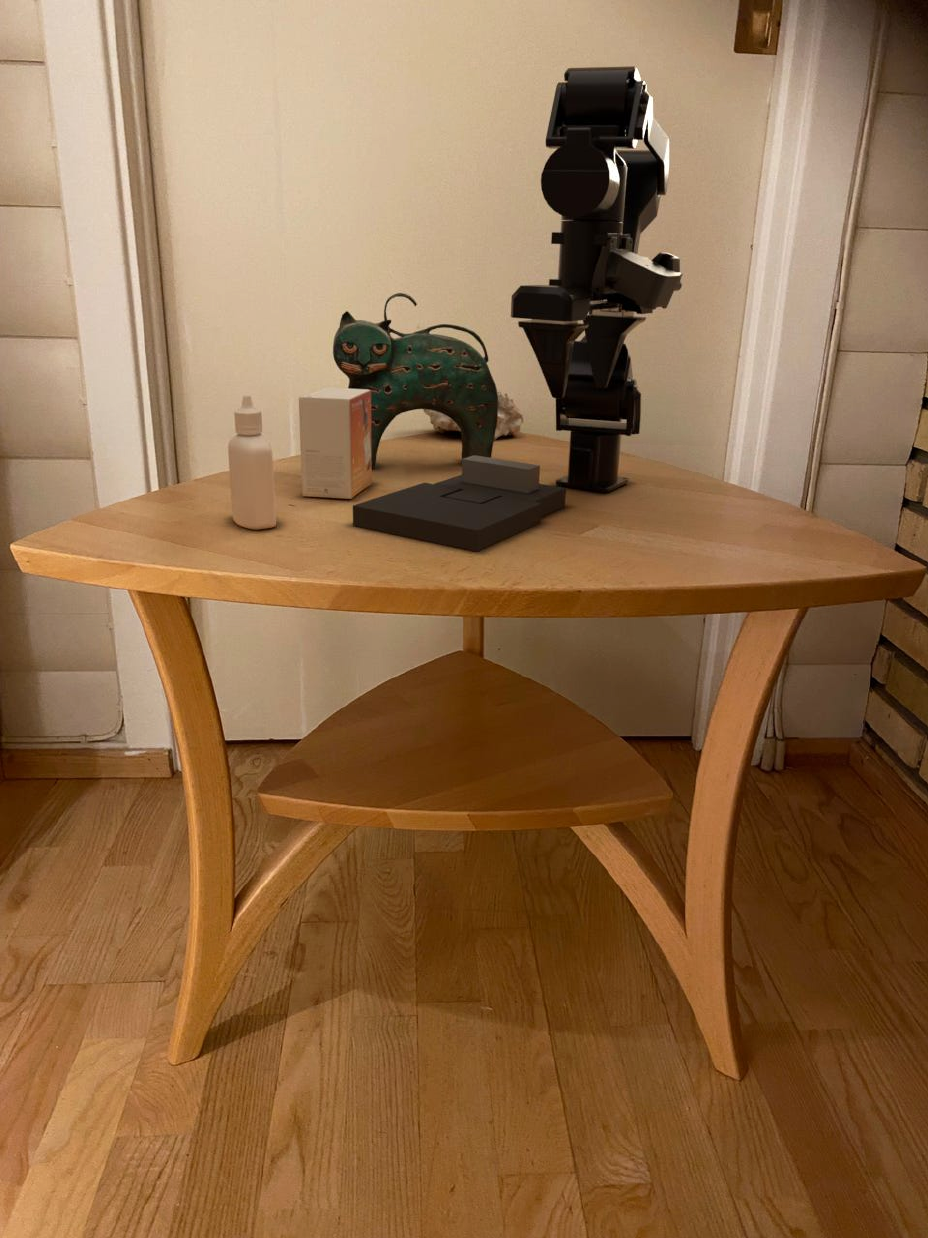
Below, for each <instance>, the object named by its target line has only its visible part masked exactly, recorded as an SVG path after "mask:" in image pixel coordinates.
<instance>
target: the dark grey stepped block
mask: <svg viewBox="0 0 928 1238" xmlns="http://www.w3.org/2000/svg"><path fill="white" fill-rule="evenodd" d="M540 472H541V465H540V464H534V463H528V462H521V461H513V460H508V459H501V458H494V457H491V458H489V457H482V456H476V455H473V456H470V457H467V458H464V459H462V458H461V474H459V475H456V476H452V477H449V478H447V479H443V480H441V481H438V482H434V484H435V485H441V486H447V487H453V488H458V489H460V491H459V492H456V493H453V494H450V495H447V496H445V498H450V499H456V500H461V501H467V502H472V503H478V504H484V503H486V502H489V501H491V500H494V499H497V498H499V497H502V496H504V497H510V498H516V499H521V500H527V501H533V502H538V503H542V509H541V518H543V517H545V516H546V515H548V514H551V513H553V512H556V511H558V510H560V509H563V508H564V507H566V497H567V496H566V495H567V487H562V486H556V485H550V484H545V483H544V484H543V483H540Z"/></svg>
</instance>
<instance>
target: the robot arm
mask: <svg viewBox="0 0 928 1238" xmlns="http://www.w3.org/2000/svg"><path fill="white" fill-rule="evenodd" d="M563 78H564V79H563V80H564V82H563V81H562V82H561V81H559V82H557V83H556V87H555V90H554V91H555V92H554V96H553V101H552V106H551V111H550V116H549V117H550V118H549V121H548V125H547V131H546V137H545V147H546V148H548V149H551V150H552V149H553V150H554V149H555V150H554V151H553V152H552V153H551V154H550V155H549V157H548V159H547V160H546V161H545V164H544V167H543V169H542V172H541V175H540V187H541V188H540V189H541V192H542V195H543V199H544V200H545V202H546V204H547V205H548V206H549V208H550V209H552V211H553V212H555V213H556V214H558V215H560V220H561V221H560V232H557V231H552V232H551V241H550V244H551V245H559V251H558V253H559V254H558V267H557V268H558V271H557V278H549V280H548V284H526V285H520V286H519V287H518V288H517V289H516V290H515V292H513V293H512V295H511V299H510V300H511V301H510V302H511V303H510V318H512V319H523V320H518V321H517V324H518V328H521V329H522V330H523V332H524V335H525V336H526V338H527V340H528V342H529V345H530V346H531V348H532V351H533V353H534V355H535V357H536V360H537V362H538V365H539V367H540V370H541V372H542V376H543V377H544V380H545V382H546V385H547V388H548V390H549V393H550V396H551V397H552V398H553V399H555V431H556V432H561V431H566V432H570V434H569V435H570V436H569V448H568V449H569V451H568V464H567V465H568V466H567V475H564V476H562V477H559V478H557V479H555V485H558V486H565V487H569V488H575V489H583V490H587V491H596V492H600V493H608V492H610V491H613V490H615V489H617V488H620V487H622V486H624V485H626V484H628V483H629V480H630V479H629V478H628V477H623V476H619V470H620V469H619V468H620V456H621V444H622V436H625V437H632V436H633V435H639V434H640V433H641V421H642V392H640V391H639V387H638V385H637V379H634V374H633V367H632V358H631V355H630V353H629V350H628V347H627V344H626V343H625V340H626V338H627V336H628V335H629V333H631V331H633V330H634V329H635V328H637V327H638V326H639V325H641V324H642V323H644V322H645V321H646V320H647V317H645V316H635V315H634V314H635V313H636V315H646V314H654V313H653V312H654V311H655V310H656V309H657V308H661V309H667V308H668V306H669V304H670V301H671V299H672V296H673V295H674V292H678V291H680V290H681V289H682V287H683V286H682V285H683V284H682V281H681V280H682V277H683V274H684V273H682V272H681V258H680V257H679V256H676V255H674V254H671V253H670V252H662V251H661V252H658V253H657V254H656V255H655V256H654V257H653V258H652V259H651V258H650V257H648V256H641V255H639V254H638V253H639V247H640V241H641V240H640V239H641V234H642V233H643V232H644V231H645V230H646V229H647V228H648V227H649V226H650V224H652V223H653V222H654V220H655V219H656V218H657V217H658V214H659V208H660V202H661V198H662V196H666V195H667V190H668V186H669V185H668V184H669V173H670V139H669V136H668V135H667V134H666V132H665V131H664V129H663V128H662V127H661V126H660V124H659V123H658V121H657V120H656V119H655V117H654V100H653V99H654V98H653V96H651V95H650V93H649V92H648V91H647V89H648V88H647V87H648V85H647V83H646V81H645V80H642V79H641V76H640V73H639V70H638V68H637V66H634V65H633V66H595V67H594V66H593V67H589V66H588V67H586V66H585V67H568V68H567V69H566V70H565V71H564V73H563ZM639 141H643V144H644V146H646V148H647V149H636V148H637V144H638V142H639ZM525 319H526V320H525ZM581 321H582V323H581ZM579 322H580V323H579ZM583 333H584V336H583V337H582V338H581V339H580V340H577V339H578V338H579V337H580V336H581V335H582V334H583ZM622 420H625V421H626V422H622Z"/></svg>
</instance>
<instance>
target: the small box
mask: <svg viewBox="0 0 928 1238" xmlns="http://www.w3.org/2000/svg"><path fill="white" fill-rule="evenodd" d="M298 416H299V418H298V419H299V444H300V445H299V446H300V447H299V448H300V473H301V493H302V496H303V497H313V498H328V499H343V500H345V499H346V500H352V499H354V497H356V495H358V494H359V493H360V492H362V491H363V490H365V489H366V488H368V487H370V486H371V485H372V483H373V477H372V475H373V474H372V473H373V471H372V470H373V469H372V467H371V390H366V389H348V387H346V388H345V387H344V388H343V387H329V386H327V387H326V386H325V387H324V386H323V387H322V388H320V389H319V390H316V391H314V392H311V393H308V394H306V395H301V396H299V397H298Z"/></svg>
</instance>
